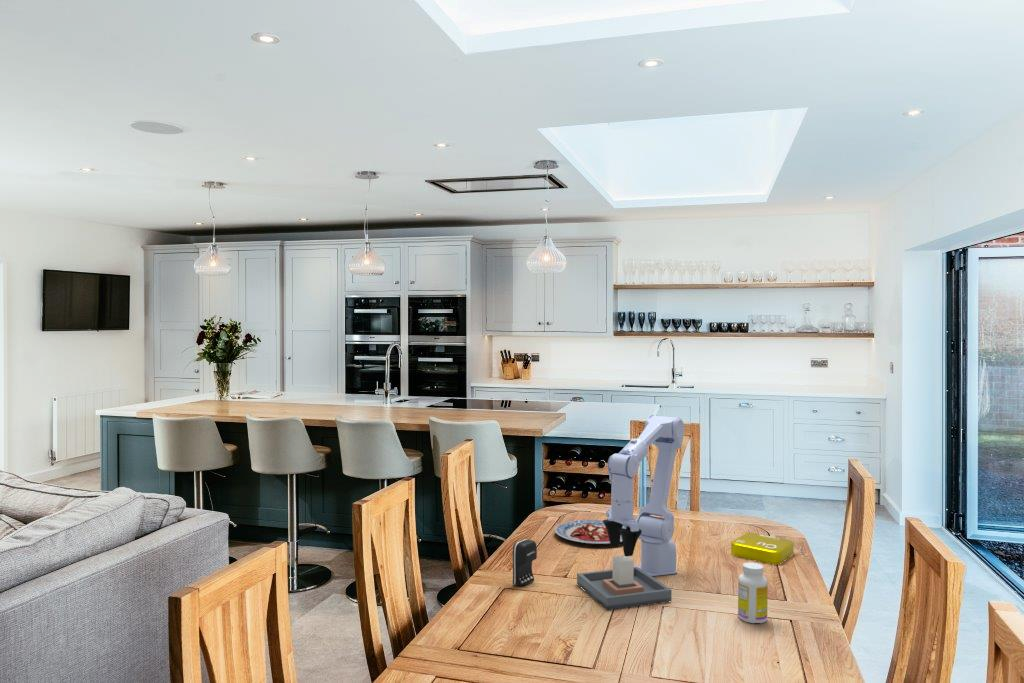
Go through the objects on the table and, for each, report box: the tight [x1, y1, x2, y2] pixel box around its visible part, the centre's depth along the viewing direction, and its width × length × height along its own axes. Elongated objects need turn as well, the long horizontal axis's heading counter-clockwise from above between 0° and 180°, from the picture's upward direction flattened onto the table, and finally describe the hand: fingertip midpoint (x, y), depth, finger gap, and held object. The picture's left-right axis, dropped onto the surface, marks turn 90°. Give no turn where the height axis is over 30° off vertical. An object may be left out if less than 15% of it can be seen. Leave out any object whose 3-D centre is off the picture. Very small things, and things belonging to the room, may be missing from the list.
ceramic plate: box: [554, 519, 626, 545], centre depth 235 cm, size 26×26×3 cm
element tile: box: [730, 531, 794, 565], centre depth 219 cm, size 15×15×5 cm
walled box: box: [576, 566, 672, 611], centre depth 186 cm, size 18×18×3 cm
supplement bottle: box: [737, 562, 769, 624], centre depth 171 cm, size 7×7×13 cm
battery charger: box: [512, 538, 538, 587], centre depth 193 cm, size 7×4×11 cm, turn 143°
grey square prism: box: [612, 555, 635, 588], centre depth 186 cm, size 4×4×8 cm
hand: (621, 551), depth 188 cm, fingers open, 7 cm apart
